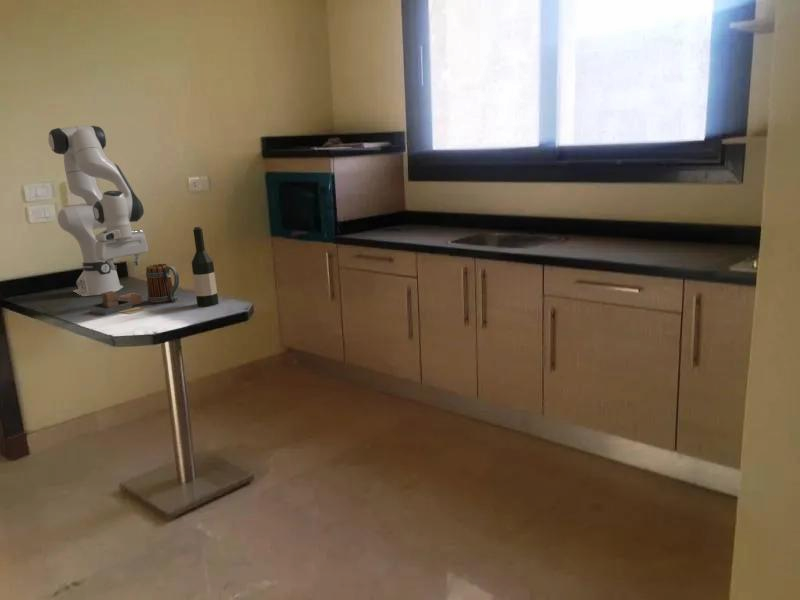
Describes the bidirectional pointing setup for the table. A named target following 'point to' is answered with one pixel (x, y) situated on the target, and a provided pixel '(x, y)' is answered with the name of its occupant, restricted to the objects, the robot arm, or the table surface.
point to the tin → (110, 308)
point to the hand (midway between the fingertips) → (125, 267)
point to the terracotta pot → (132, 298)
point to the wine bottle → (203, 273)
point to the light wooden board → (133, 310)
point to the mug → (161, 283)
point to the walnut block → (109, 299)
